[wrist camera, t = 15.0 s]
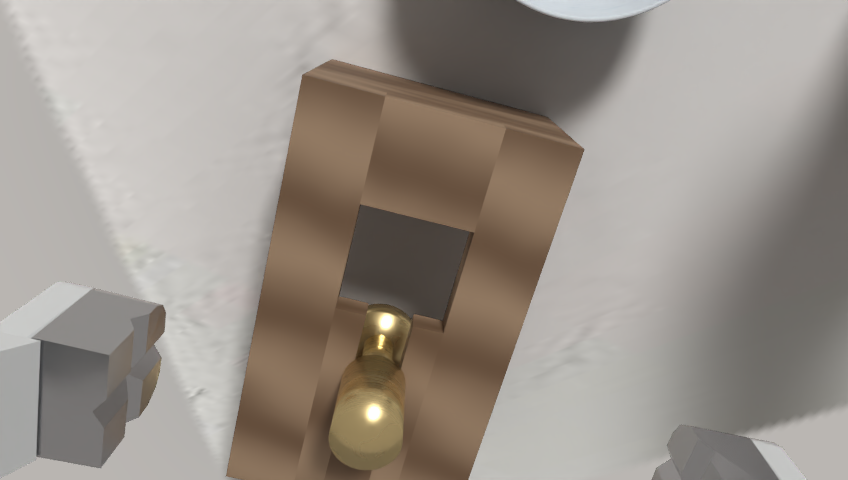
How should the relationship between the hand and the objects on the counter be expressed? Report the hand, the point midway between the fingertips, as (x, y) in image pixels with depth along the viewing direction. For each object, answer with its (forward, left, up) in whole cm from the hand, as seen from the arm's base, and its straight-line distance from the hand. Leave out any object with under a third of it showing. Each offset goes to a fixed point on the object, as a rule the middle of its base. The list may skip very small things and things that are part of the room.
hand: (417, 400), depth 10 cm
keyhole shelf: (-1, +11, -32) cm, 34 cm away
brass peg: (-1, +14, -27) cm, 31 cm away
